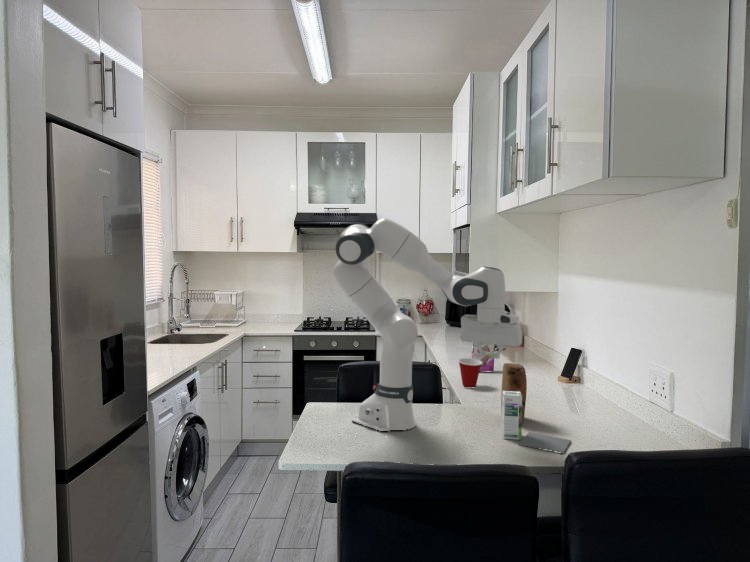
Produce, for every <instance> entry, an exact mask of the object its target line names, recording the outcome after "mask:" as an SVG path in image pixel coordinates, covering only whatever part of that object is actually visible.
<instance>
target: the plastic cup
mask: <svg viewBox="0 0 750 562" xmlns="http://www.w3.org/2000/svg"><path fill="white" fill-rule="evenodd" d="M458 363H459V369H460V376H461V382H462V383H461V384H462V387H463V386H464V388H465V387H475V388H476V387H477V383H478V378H479V373H480V372H479V370H480V367H481V365H482V362H481V361H479V360H476V359H471V357H470V358H469V357H465V358H463V357H462V358H459V359H458Z"/></svg>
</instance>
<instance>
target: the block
mask: <svg viewBox="0 0 750 562" xmlns="http://www.w3.org/2000/svg"><path fill="white" fill-rule="evenodd" d="M501 376H502V377H501V379H502V380H501V393H502V392H503V391H514V392H521V394H522V423H524V421H525V414H526V413H525V410H526V402H527V389H528V388H527V387H528V385H527V384H528V383H527V372H526V369H525V367H524V365H522V364H520V363H517V364H516V363H512V362H511V363H509V362H508V363H505V362H504V363H503V367H502V375H501ZM500 401H501V403H500V404H501V405H500V406H501V408H500V409H501V410H502V396H501V400H500Z"/></svg>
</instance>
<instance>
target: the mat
mask: <svg viewBox="0 0 750 562" xmlns="http://www.w3.org/2000/svg"><path fill="white" fill-rule="evenodd" d="M570 441H571V442H572V440H571V439H567V438H564V437H563V438H562V437H557V436H552V435H546V434H542V433H541V434H540V433H538V432H537V433H536V432H532V431H528V433H527V434H526V435H525V436H524V437H523V438H521V440H520V441H519V443H518V446H521V445H522V446H521V447H525V446H528V447H527V448H530V447H534V448H533V449H535V448H541V449H547V450H552V451H557V452H561V453H563V452H564V450H565V449H566V447H567V446H568V444H569V443H570V444H571V442H570ZM570 444H569V445H570ZM568 447H569V446H568ZM568 447H567V448H568ZM566 450H567V449H566ZM566 450H565V451H566ZM564 453H565V452H564Z"/></svg>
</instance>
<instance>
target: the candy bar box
mask: <svg viewBox="0 0 750 562" xmlns="http://www.w3.org/2000/svg"><path fill="white" fill-rule="evenodd" d="M481 347H482V349H483V351H486V353H485V354H486V356H485V357H480V351H479V350H478V348H477V343H474V342H471V356H470V358H471V359H476V360H479V361H481V362H482V365H481V367H480V370H479V371H494V372H495V358H494V353H495V351H494V350H495V345H493V344H484V343H483V345H482V346H481Z"/></svg>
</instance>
